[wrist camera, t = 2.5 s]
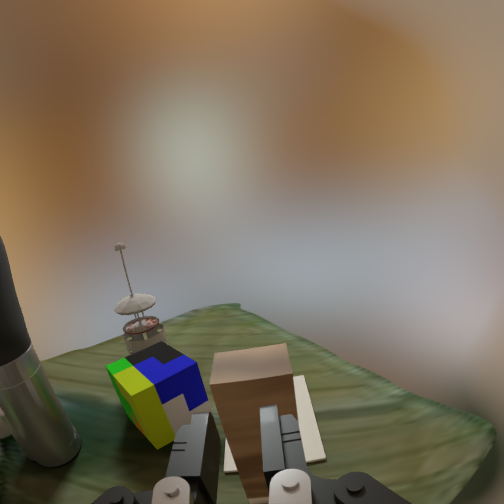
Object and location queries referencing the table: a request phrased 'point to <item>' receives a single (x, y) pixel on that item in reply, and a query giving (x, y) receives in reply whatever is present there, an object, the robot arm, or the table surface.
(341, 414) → the table surface
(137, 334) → the french press
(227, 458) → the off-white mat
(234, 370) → the walnut block
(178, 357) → the puzzle toy
